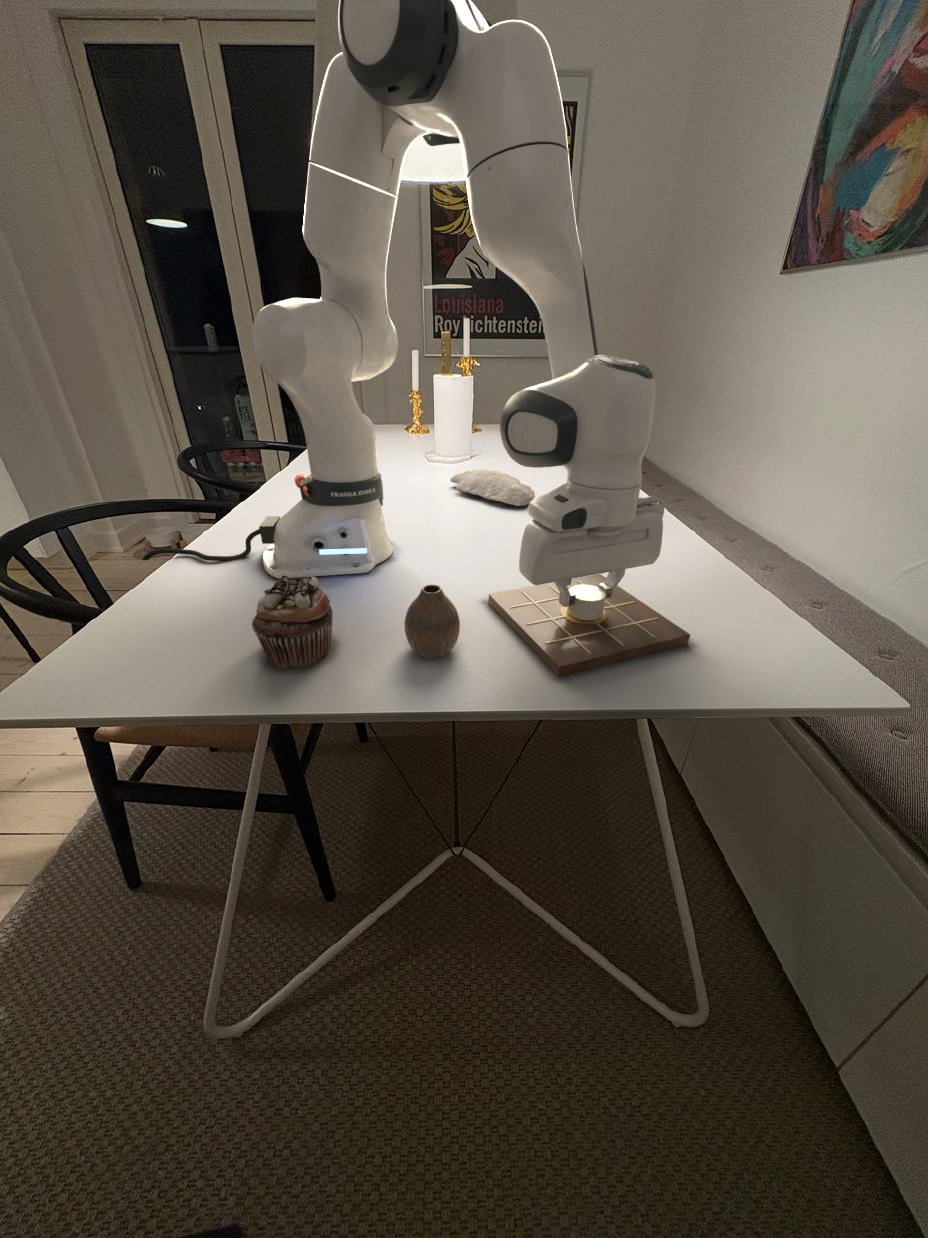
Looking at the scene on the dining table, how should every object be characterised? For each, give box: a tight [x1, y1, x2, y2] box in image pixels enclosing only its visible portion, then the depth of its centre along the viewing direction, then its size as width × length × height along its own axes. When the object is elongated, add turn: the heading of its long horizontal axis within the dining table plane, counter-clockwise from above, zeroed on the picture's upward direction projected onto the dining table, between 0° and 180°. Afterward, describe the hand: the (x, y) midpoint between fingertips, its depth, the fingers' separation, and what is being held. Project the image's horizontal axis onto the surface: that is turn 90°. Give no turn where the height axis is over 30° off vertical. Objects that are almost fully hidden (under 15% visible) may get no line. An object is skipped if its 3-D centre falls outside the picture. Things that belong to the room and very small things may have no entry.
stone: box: [449, 469, 536, 507], centre depth 124 cm, size 16×6×25 cm
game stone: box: [566, 585, 606, 620], centre depth 71 cm, size 5×5×3 cm
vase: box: [404, 584, 461, 659], centre depth 63 cm, size 7×7×9 cm
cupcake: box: [250, 576, 334, 669], centre depth 62 cm, size 10×10×10 cm
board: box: [487, 573, 691, 678], centre depth 72 cm, size 20×20×2 cm
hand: (585, 600), depth 70 cm, fingers closed on game stone, 5 cm apart
